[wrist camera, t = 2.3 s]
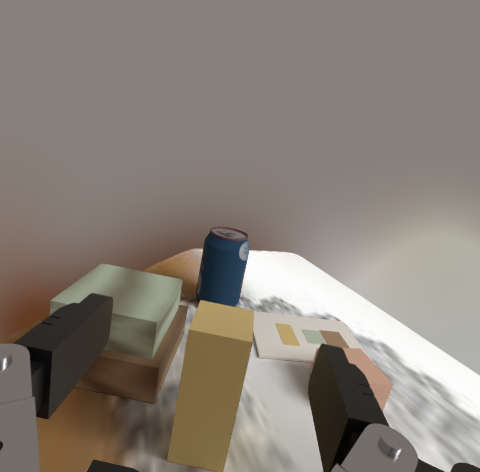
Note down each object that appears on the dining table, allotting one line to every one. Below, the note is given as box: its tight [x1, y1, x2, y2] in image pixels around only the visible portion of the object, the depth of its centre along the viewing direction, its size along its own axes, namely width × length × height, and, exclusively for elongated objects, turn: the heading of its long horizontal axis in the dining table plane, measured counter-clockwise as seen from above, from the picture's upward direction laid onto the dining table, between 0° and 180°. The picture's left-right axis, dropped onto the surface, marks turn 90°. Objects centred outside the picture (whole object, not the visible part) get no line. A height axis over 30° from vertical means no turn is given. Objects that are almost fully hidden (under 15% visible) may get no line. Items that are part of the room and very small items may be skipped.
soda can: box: [196, 227, 250, 307], centre depth 50 cm, size 7×7×12 cm
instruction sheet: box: [253, 311, 374, 363], centre depth 47 cm, size 16×11×1 cm
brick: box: [309, 348, 393, 412], centre depth 37 cm, size 6×6×4 cm
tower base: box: [50, 263, 188, 403], centre depth 35 cm, size 12×12×8 cm
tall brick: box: [167, 300, 254, 472], centre depth 26 cm, size 4×4×12 cm
